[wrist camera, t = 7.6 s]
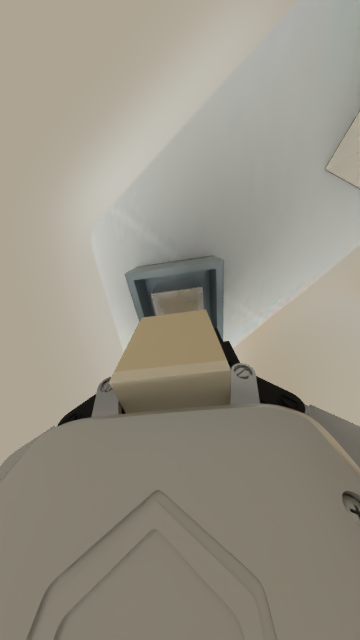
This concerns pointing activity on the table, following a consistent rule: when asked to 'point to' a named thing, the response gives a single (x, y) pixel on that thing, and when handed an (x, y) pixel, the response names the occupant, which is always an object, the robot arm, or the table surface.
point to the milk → (348, 156)
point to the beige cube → (172, 365)
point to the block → (177, 296)
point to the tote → (201, 268)
